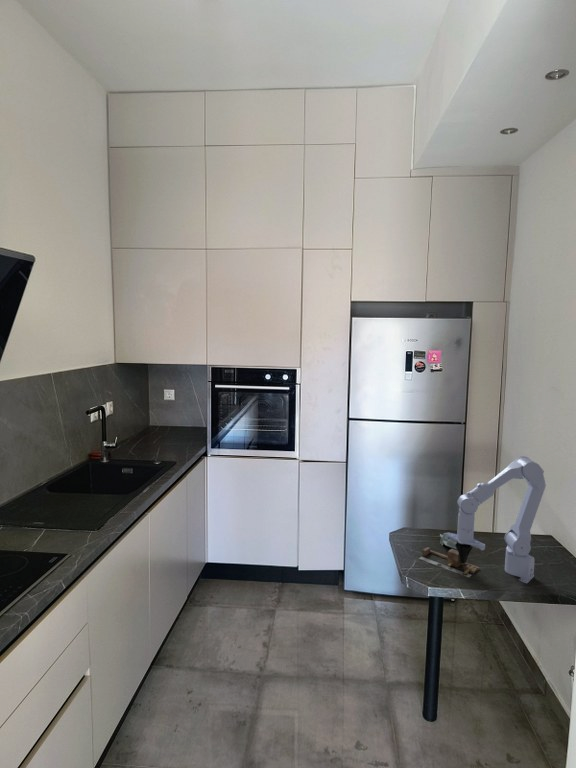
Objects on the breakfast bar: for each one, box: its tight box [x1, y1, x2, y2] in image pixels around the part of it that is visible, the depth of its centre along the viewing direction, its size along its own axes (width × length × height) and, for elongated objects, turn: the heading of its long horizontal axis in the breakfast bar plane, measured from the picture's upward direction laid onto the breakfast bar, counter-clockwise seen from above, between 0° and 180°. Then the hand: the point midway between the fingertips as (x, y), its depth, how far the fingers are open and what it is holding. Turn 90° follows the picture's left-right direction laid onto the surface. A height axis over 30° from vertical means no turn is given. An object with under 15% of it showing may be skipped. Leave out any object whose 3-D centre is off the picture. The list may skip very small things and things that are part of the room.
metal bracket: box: [439, 532, 457, 550], centre depth 201 cm, size 14×6×15 cm
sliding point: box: [446, 548, 462, 568], centre depth 182 cm, size 4×6×5 cm, turn 136°
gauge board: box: [418, 546, 480, 578], centre depth 184 cm, size 22×10×4 cm, turn 46°
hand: (463, 562), depth 181 cm, fingers closed
